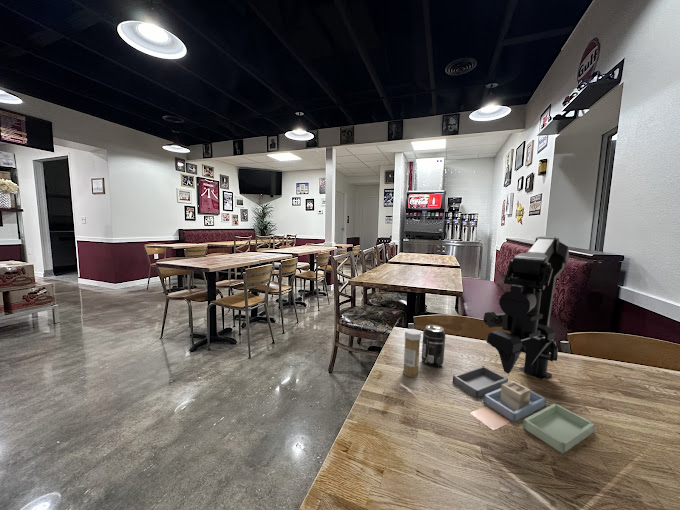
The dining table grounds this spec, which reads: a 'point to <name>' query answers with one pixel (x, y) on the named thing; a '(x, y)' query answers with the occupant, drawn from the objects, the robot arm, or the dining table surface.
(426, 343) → the beverage can
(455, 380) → the charcoal tray
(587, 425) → the green tray
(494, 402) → the slate tray
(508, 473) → the dining table surface
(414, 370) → the sprinkles bottle
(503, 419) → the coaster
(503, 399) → the letter cube
